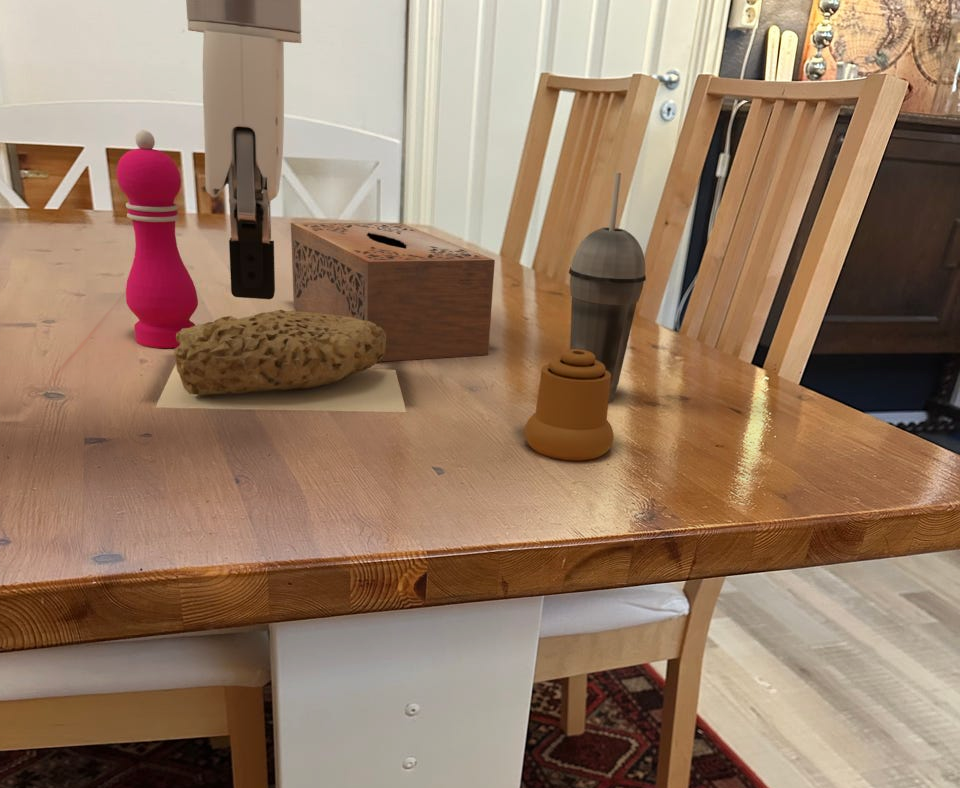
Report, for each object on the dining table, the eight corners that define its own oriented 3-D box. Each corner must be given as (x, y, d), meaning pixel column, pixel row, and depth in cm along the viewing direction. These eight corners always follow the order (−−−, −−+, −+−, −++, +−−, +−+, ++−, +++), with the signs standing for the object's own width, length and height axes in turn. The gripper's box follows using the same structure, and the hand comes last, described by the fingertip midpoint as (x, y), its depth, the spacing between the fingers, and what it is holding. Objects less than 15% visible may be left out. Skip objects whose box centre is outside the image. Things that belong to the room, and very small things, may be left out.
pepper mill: (135, 332, 102) (110, 125, 92) (203, 333, 104) (185, 130, 93) (127, 349, 96) (98, 130, 86) (199, 350, 98) (179, 135, 87)
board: (155, 409, 81) (154, 407, 81) (175, 366, 93) (175, 364, 93) (406, 414, 85) (406, 411, 85) (395, 371, 96) (395, 369, 96)
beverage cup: (559, 405, 89) (585, 174, 79) (551, 384, 96) (574, 167, 85) (633, 409, 90) (669, 180, 79) (621, 388, 96) (652, 173, 86)
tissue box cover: (488, 354, 104) (494, 260, 99) (367, 362, 98) (367, 261, 93) (399, 304, 123) (401, 223, 118) (293, 308, 117) (290, 222, 112)
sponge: (191, 423, 82) (409, 373, 85) (163, 332, 79) (390, 283, 82) (195, 405, 94) (386, 361, 97) (170, 324, 90) (369, 282, 94)
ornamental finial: (526, 429, 82) (610, 437, 82) (521, 458, 76) (612, 467, 76) (534, 337, 78) (623, 345, 78) (530, 360, 72) (626, 368, 72)
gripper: (198, 11, 68) (212, 274, 77) (172, -3, 56) (192, 314, 65) (302, 23, 69) (303, 281, 79) (299, 12, 57) (301, 321, 66)
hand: (253, 295), depth 72 cm, fingers closed
